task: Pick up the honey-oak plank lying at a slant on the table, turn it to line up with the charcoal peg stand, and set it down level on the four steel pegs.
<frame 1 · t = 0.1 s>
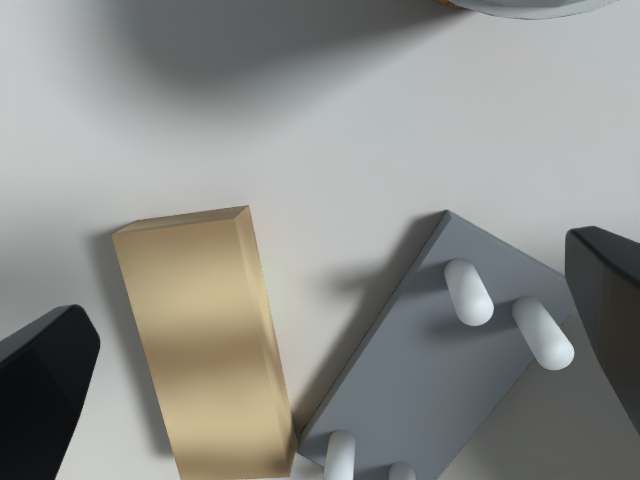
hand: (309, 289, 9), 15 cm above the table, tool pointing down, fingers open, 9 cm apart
oak plank: (223, 334, 28), on the table
peg stand: (426, 364, 26), on the table
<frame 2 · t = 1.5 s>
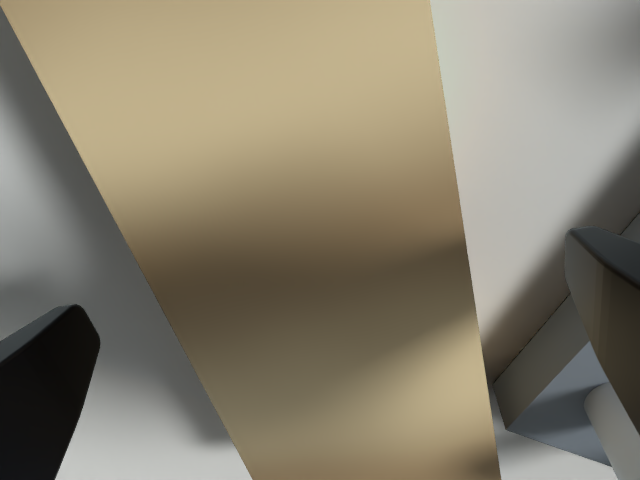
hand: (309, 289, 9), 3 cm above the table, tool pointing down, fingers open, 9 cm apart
oak plank: (314, 204, 12), on the table
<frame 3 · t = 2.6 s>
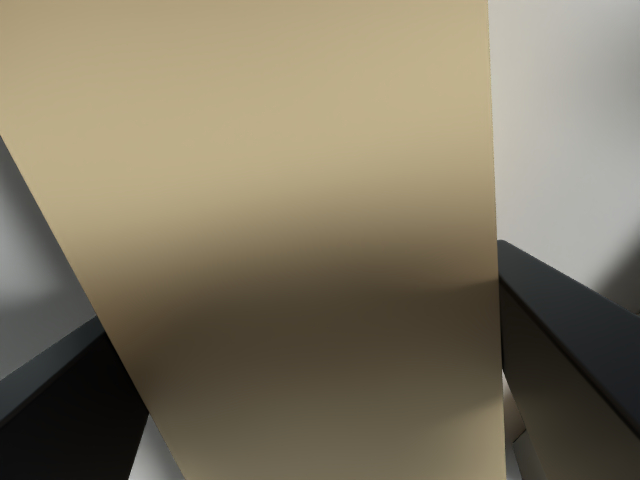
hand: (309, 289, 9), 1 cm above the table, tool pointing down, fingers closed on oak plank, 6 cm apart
oak plank: (315, 248, 11), on the table, touching gripper
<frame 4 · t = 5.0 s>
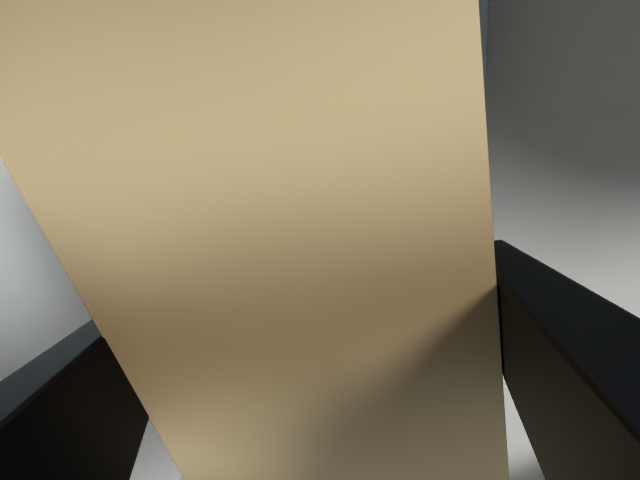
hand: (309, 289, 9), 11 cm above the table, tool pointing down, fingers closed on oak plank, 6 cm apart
oak plank: (313, 246, 10), point 9 cm above the table, touching gripper
peg stand: (374, 83, 18), on the table
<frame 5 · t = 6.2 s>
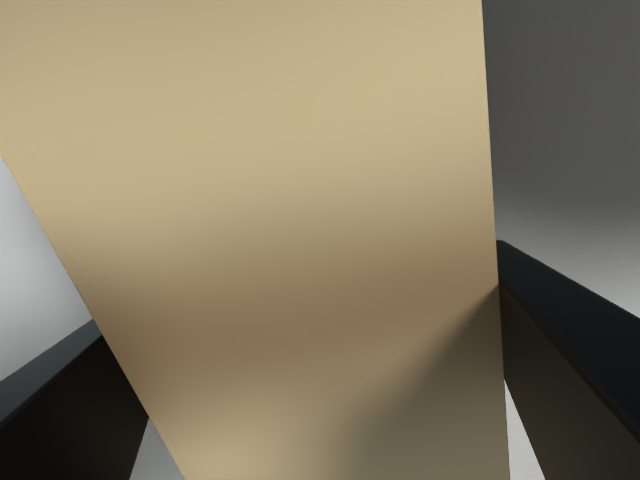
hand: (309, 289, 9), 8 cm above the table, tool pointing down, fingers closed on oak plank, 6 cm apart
oak plank: (313, 246, 10), point 7 cm above the table, touching gripper
when the fingers open (8 cm above the table, at t = 7.1 s): oak plank stays where it is, resting on peg stand.
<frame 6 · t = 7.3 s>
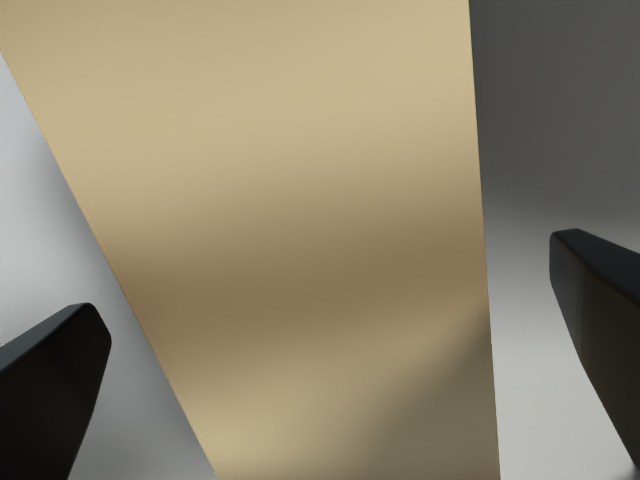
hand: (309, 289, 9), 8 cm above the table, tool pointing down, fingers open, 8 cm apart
oak plank: (317, 224, 11), point 5 cm above the table, touching peg stand
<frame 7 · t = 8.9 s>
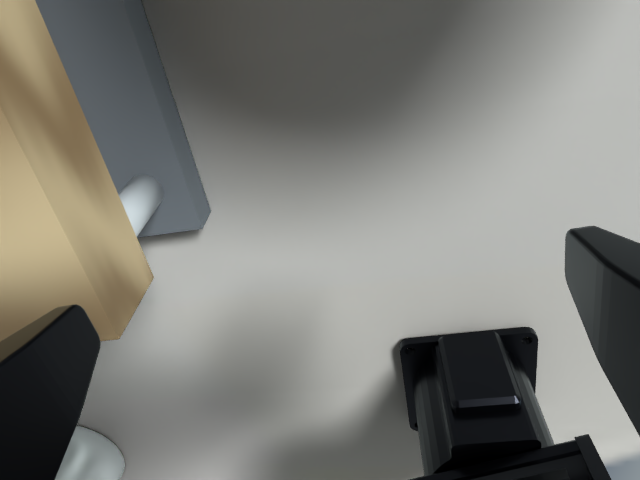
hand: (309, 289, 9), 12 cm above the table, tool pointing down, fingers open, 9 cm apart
peg stand: (61, 46, 19), on the table
beer glass: (78, 451, 32), on the table
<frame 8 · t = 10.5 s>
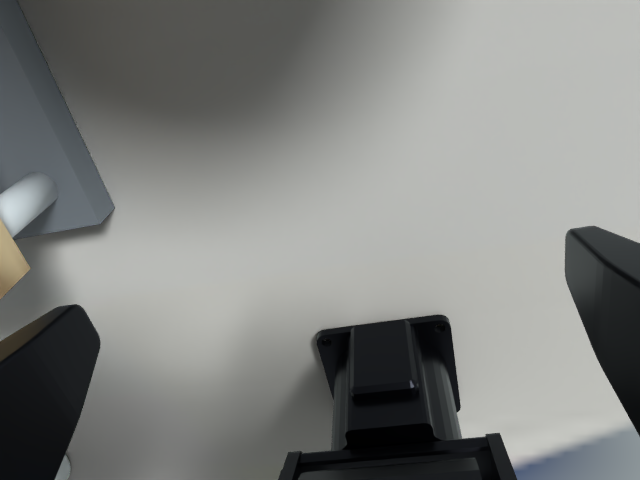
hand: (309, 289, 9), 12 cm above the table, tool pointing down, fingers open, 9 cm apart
beer glass: (25, 454, 32), on the table
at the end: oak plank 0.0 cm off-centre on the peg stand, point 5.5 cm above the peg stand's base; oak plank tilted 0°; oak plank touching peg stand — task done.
